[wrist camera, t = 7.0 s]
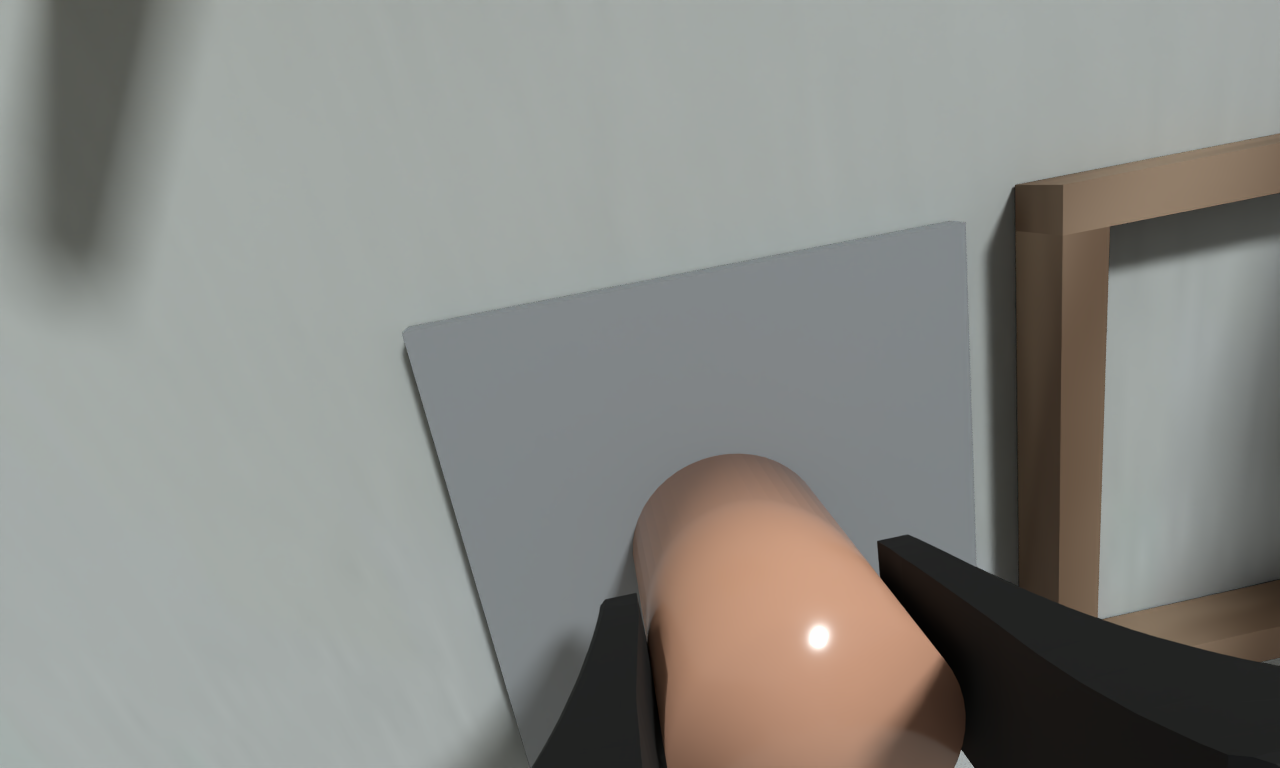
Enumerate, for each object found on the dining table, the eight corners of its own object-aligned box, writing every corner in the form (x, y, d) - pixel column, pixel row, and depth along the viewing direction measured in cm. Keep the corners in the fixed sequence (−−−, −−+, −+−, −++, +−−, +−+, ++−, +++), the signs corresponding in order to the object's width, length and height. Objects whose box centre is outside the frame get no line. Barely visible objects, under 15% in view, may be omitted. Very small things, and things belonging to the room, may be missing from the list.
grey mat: (949, 220, 15) (965, 222, 14) (967, 664, 18) (980, 680, 18) (408, 326, 14) (401, 332, 14) (534, 760, 18) (533, 780, 17)
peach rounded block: (605, 493, 15) (625, 680, 9) (797, 426, 15) (935, 573, 9) (689, 709, 17) (748, 975, 11) (859, 650, 17) (1005, 886, 11)
